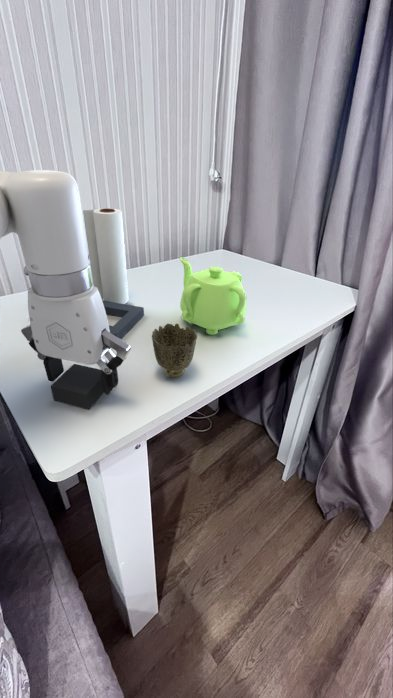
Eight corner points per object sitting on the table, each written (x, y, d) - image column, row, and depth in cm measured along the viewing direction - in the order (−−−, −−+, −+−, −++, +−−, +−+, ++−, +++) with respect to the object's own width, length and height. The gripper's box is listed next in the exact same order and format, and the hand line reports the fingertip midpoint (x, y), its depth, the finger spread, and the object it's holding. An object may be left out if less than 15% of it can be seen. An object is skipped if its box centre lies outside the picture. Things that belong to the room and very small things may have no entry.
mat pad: (48, 329, 70) (46, 320, 69) (83, 304, 80) (82, 296, 79) (117, 342, 66) (116, 334, 65) (144, 315, 77) (143, 307, 76)
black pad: (53, 401, 51) (49, 385, 50) (76, 377, 56) (74, 363, 55) (89, 410, 50) (86, 394, 48) (109, 385, 55) (107, 370, 53)
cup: (145, 378, 57) (143, 339, 52) (164, 357, 63) (163, 319, 58) (185, 390, 55) (186, 349, 50) (201, 366, 60) (203, 328, 56)
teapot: (167, 333, 70) (166, 276, 63) (179, 305, 82) (180, 254, 75) (243, 342, 68) (250, 284, 62) (245, 311, 80) (251, 260, 73)
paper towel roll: (133, 300, 83) (127, 209, 72) (117, 309, 79) (107, 213, 67) (112, 293, 86) (103, 205, 75) (95, 301, 82) (82, 209, 70)
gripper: (-16, 280, 42) (20, 386, 51) (107, 300, 38) (122, 410, 47) (26, 262, 48) (51, 359, 57) (135, 277, 44) (143, 379, 53)
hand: (83, 382), depth 52 cm, fingers open, 9 cm apart
